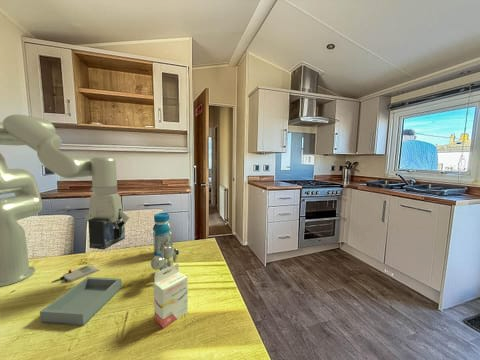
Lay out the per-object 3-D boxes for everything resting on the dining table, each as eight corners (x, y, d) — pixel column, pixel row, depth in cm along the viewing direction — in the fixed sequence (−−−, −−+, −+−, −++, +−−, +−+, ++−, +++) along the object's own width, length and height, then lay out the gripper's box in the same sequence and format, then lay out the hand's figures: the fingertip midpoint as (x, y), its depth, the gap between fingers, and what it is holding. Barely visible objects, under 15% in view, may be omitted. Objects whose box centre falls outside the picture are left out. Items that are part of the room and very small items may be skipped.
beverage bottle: (161, 260, 96) (159, 218, 93) (150, 255, 100) (148, 215, 98) (175, 252, 103) (174, 213, 101) (164, 248, 107) (163, 211, 105)
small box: (104, 250, 72) (102, 221, 71) (88, 248, 73) (86, 219, 72) (126, 238, 82) (125, 212, 81) (111, 237, 83) (110, 211, 82)
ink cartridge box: (163, 329, 58) (161, 280, 56) (154, 320, 61) (152, 273, 59) (188, 311, 64) (187, 267, 62) (179, 304, 67) (178, 261, 66)
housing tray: (41, 322, 60) (39, 311, 59) (88, 285, 76) (87, 277, 76) (83, 325, 59) (82, 314, 58) (121, 287, 75) (121, 278, 75)
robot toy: (161, 290, 74) (160, 250, 72) (147, 287, 76) (145, 248, 74) (183, 269, 88) (182, 235, 87) (170, 266, 90) (169, 233, 88)
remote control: (103, 270, 88) (103, 263, 88) (56, 289, 75) (56, 281, 75) (96, 265, 92) (96, 259, 91) (50, 283, 79) (49, 275, 78)
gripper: (73, 192, 72) (77, 241, 74) (122, 193, 71) (124, 242, 73) (90, 188, 79) (93, 233, 82) (134, 189, 79) (136, 234, 81)
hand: (108, 237), depth 77 cm, fingers closed on small box, 6 cm apart
